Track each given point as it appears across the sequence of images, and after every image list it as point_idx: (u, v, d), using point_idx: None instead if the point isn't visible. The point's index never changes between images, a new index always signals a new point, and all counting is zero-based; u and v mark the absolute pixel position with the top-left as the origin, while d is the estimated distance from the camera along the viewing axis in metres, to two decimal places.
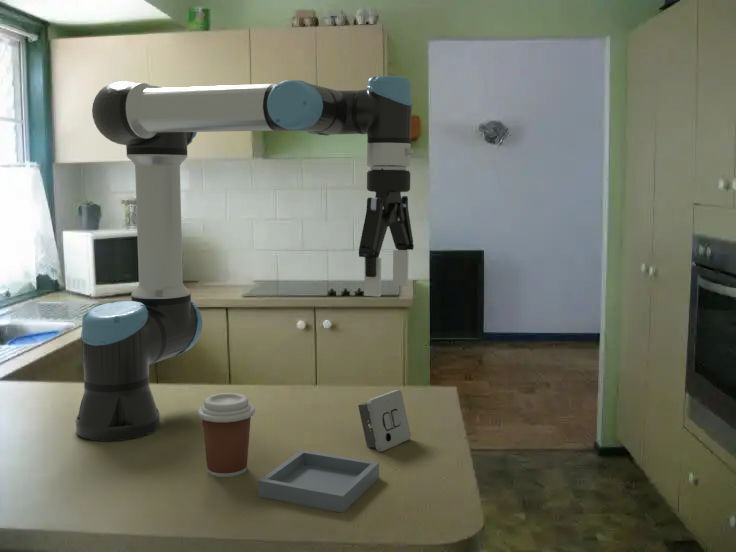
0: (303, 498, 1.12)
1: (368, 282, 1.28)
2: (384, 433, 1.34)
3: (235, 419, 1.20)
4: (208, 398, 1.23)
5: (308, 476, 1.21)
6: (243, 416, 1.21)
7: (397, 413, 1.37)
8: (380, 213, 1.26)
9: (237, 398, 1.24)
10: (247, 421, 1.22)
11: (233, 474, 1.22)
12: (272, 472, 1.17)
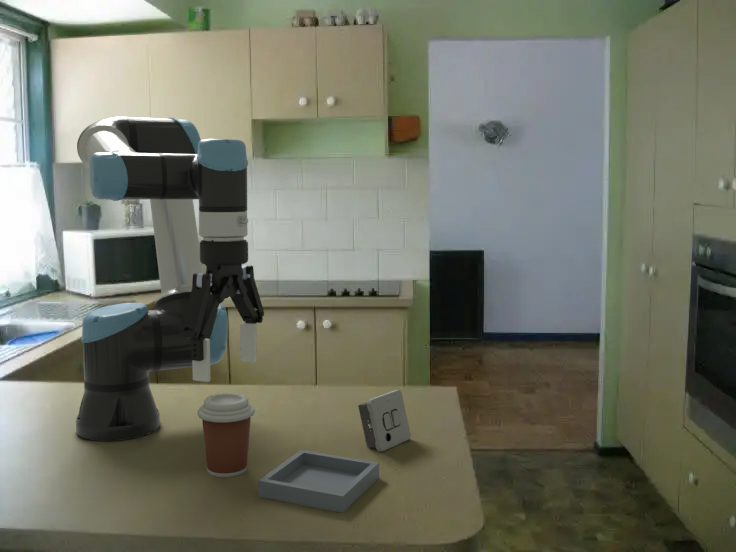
0: (303, 498, 1.12)
1: (196, 366, 1.16)
2: (384, 433, 1.34)
3: (235, 419, 1.20)
4: (208, 398, 1.23)
5: (308, 476, 1.21)
6: (243, 416, 1.21)
7: (397, 413, 1.37)
8: (206, 291, 1.14)
9: (237, 398, 1.24)
10: (247, 421, 1.22)
11: (233, 474, 1.22)
12: (272, 472, 1.17)
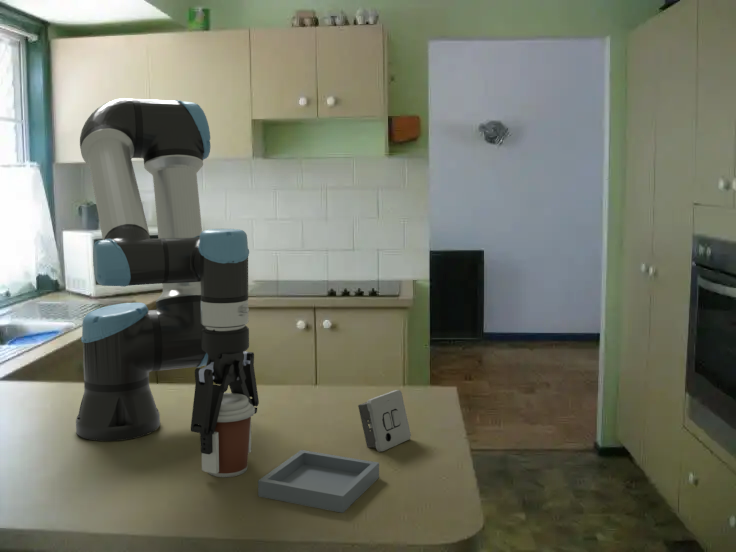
0: (303, 498, 1.12)
1: (205, 457, 1.20)
2: (384, 433, 1.34)
3: (235, 419, 1.20)
4: None
5: (308, 476, 1.21)
6: (243, 416, 1.20)
7: (397, 413, 1.37)
8: (210, 386, 1.17)
9: (237, 398, 1.24)
10: (247, 421, 1.22)
11: (233, 474, 1.22)
12: (272, 472, 1.17)
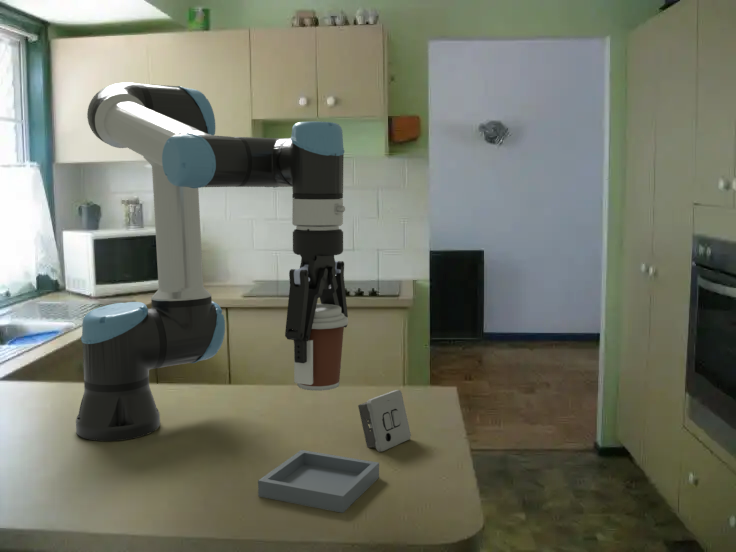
0: (303, 498, 1.12)
1: (298, 368, 1.11)
2: (384, 433, 1.34)
3: (331, 326, 1.11)
4: None
5: (308, 476, 1.21)
6: (338, 323, 1.12)
7: (397, 413, 1.37)
8: (306, 288, 1.08)
9: (329, 307, 1.16)
10: (341, 330, 1.14)
11: (327, 387, 1.13)
12: (272, 472, 1.17)
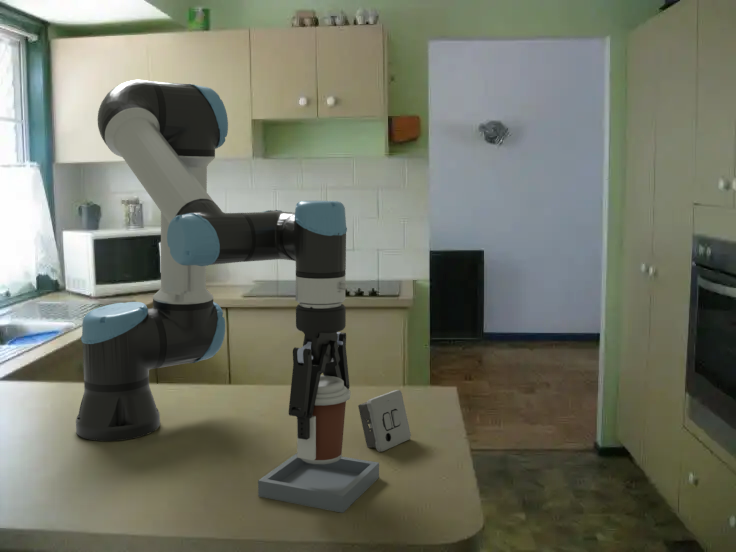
0: (303, 498, 1.12)
1: (301, 443, 1.13)
2: (384, 433, 1.34)
3: (333, 402, 1.12)
4: None
5: (308, 476, 1.21)
6: (341, 399, 1.13)
7: (397, 413, 1.37)
8: (309, 366, 1.09)
9: (331, 380, 1.17)
10: (344, 404, 1.15)
11: (329, 461, 1.15)
12: (272, 472, 1.17)
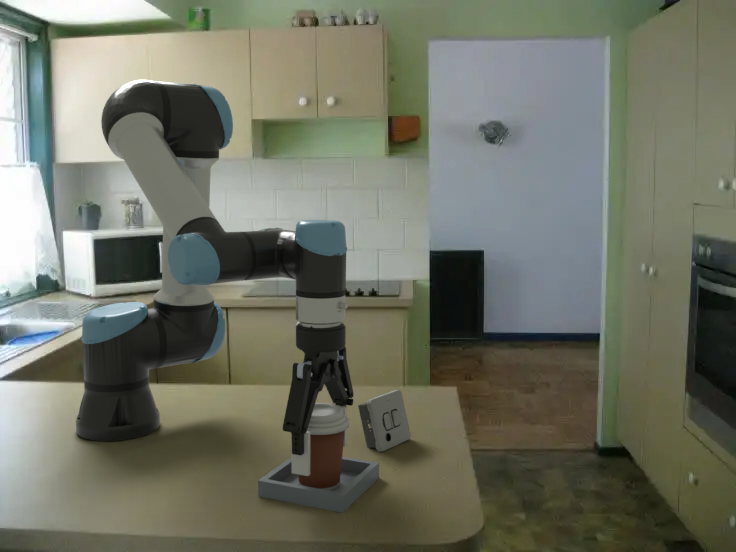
0: (303, 498, 1.12)
1: (295, 459, 1.11)
2: (384, 433, 1.34)
3: (333, 431, 1.13)
4: None
5: None
6: (341, 428, 1.14)
7: (397, 413, 1.37)
8: (307, 382, 1.09)
9: (331, 408, 1.18)
10: (343, 433, 1.16)
11: (328, 489, 1.15)
12: (272, 472, 1.17)
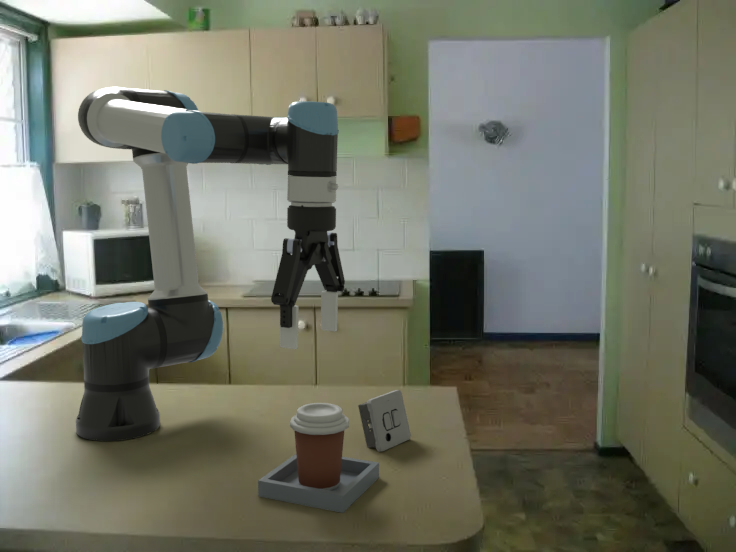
0: (303, 498, 1.12)
1: (284, 332, 1.14)
2: (384, 433, 1.34)
3: (333, 431, 1.13)
4: (300, 409, 1.17)
5: None
6: (340, 428, 1.14)
7: (397, 413, 1.37)
8: (297, 256, 1.12)
9: (330, 408, 1.18)
10: (342, 433, 1.16)
11: (328, 489, 1.15)
12: (272, 472, 1.17)
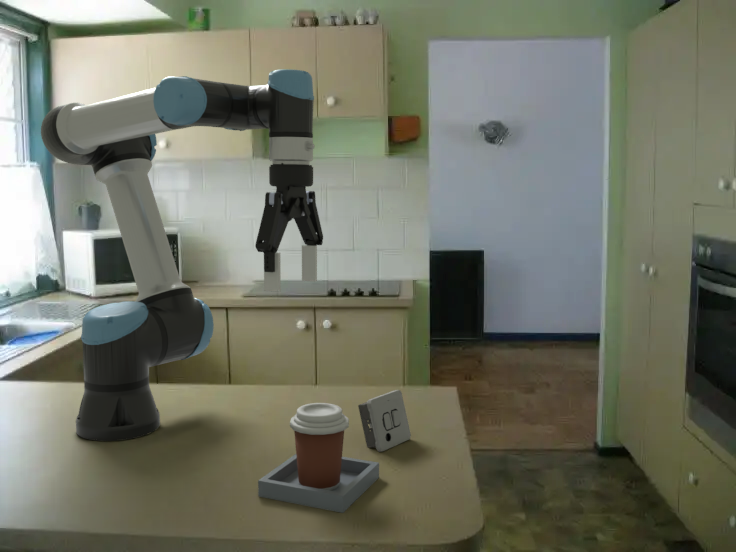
0: (303, 498, 1.12)
1: (267, 277, 1.27)
2: (384, 433, 1.34)
3: (332, 431, 1.13)
4: (300, 409, 1.17)
5: None
6: (340, 428, 1.14)
7: (397, 413, 1.37)
8: (278, 208, 1.25)
9: (330, 408, 1.18)
10: (342, 433, 1.16)
11: (328, 489, 1.15)
12: (272, 472, 1.17)
